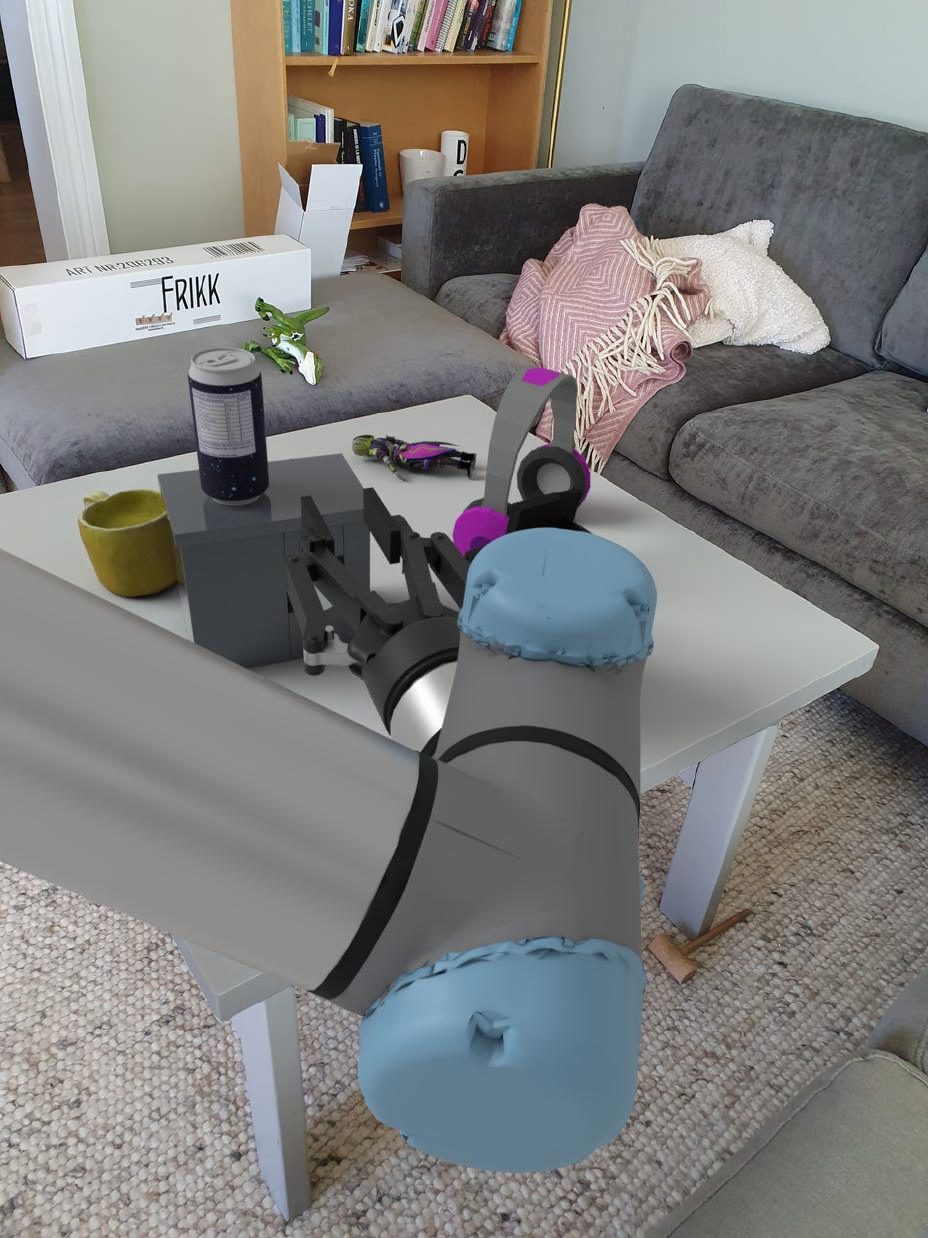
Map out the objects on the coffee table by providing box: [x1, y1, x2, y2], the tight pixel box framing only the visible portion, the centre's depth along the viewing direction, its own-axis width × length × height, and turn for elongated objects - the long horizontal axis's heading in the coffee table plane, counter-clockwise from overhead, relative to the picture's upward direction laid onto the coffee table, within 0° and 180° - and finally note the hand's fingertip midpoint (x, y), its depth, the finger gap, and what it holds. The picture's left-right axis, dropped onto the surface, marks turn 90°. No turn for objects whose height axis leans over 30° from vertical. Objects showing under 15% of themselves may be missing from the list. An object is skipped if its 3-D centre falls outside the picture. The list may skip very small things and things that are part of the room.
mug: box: [77, 488, 178, 598], centre depth 93 cm, size 12×10×10 cm
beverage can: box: [187, 346, 269, 506], centre depth 75 cm, size 6×6×12 cm
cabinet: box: [156, 452, 371, 669], centre depth 84 cm, size 17×11×15 cm, turn 112°
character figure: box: [351, 434, 477, 482], centre depth 117 cm, size 9×4×16 cm
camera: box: [464, 487, 594, 565], centre depth 78 cm, size 10×14×20 cm
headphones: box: [452, 364, 592, 556], centre depth 99 cm, size 21×9×20 cm, turn 152°
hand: (337, 508), depth 68 cm, fingers open, 4 cm apart
